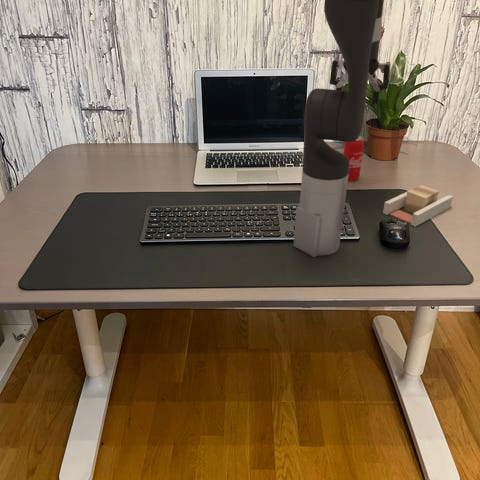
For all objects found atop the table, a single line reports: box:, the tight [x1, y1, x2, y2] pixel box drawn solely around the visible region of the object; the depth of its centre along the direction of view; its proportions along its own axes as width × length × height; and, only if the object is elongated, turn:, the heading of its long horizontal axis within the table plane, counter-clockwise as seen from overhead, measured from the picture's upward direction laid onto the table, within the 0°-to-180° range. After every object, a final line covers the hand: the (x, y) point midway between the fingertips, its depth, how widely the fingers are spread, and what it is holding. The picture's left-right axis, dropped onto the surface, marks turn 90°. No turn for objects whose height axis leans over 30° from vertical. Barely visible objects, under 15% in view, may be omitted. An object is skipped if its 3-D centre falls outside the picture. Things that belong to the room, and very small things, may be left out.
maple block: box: [403, 184, 440, 214], centre depth 122 cm, size 6×5×5 cm
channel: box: [382, 191, 454, 227], centre depth 122 cm, size 16×9×3 cm, turn 131°
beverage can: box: [342, 135, 365, 182], centre depth 137 cm, size 5×5×12 cm
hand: (356, 102), depth 125 cm, fingers open, 8 cm apart
